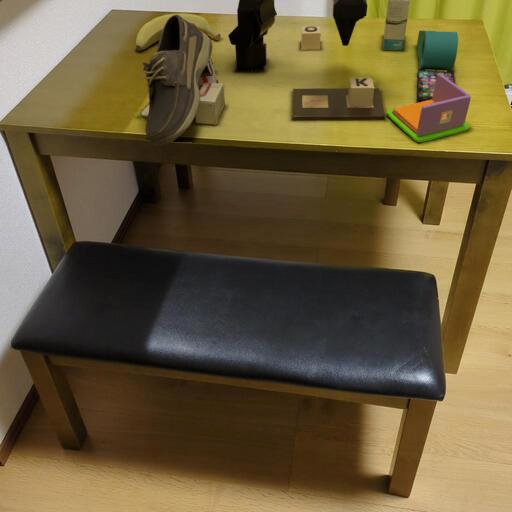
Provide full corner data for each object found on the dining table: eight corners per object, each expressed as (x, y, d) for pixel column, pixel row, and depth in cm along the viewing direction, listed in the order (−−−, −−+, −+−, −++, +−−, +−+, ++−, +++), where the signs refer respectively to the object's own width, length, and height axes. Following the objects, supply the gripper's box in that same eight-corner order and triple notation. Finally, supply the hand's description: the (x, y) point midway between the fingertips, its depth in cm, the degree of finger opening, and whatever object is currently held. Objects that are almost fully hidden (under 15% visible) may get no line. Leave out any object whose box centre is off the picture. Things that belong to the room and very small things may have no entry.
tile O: (301, 49, 140) (301, 32, 137) (301, 42, 143) (301, 25, 140) (320, 49, 140) (320, 32, 137) (319, 42, 143) (320, 25, 140)
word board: (292, 120, 115) (292, 116, 115) (293, 91, 124) (293, 88, 123) (384, 119, 114) (385, 115, 113) (378, 91, 123) (378, 87, 122)
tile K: (349, 106, 117) (351, 87, 114) (348, 95, 120) (349, 76, 117) (372, 106, 116) (374, 87, 114) (370, 95, 120) (372, 76, 117)
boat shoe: (151, 162, 110) (108, 128, 103) (179, 57, 125) (143, 20, 118) (193, 143, 104) (150, 105, 97) (217, 34, 119) (182, -5, 112)
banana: (144, 3, 146) (223, 13, 146) (146, 22, 151) (223, 32, 151) (132, 38, 139) (215, 48, 139) (135, 57, 144) (215, 67, 143)
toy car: (211, 63, 136) (208, 31, 131) (221, 99, 123) (218, 64, 118) (178, 66, 135) (174, 34, 130) (184, 102, 122) (180, 68, 117)
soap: (157, 119, 117) (156, 115, 116) (137, 117, 118) (136, 113, 117) (176, 97, 124) (176, 93, 123) (157, 95, 125) (156, 91, 124)
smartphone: (416, 99, 117) (417, 67, 128) (415, 103, 118) (417, 71, 129) (456, 102, 116) (454, 69, 127) (455, 106, 117) (453, 73, 127)
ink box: (403, 51, 137) (410, -1, 129) (382, 50, 138) (388, -2, 130) (403, 36, 144) (410, -14, 136) (383, 36, 144) (389, -14, 136)
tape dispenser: (421, 74, 128) (426, 39, 123) (416, 46, 139) (421, 13, 134) (452, 75, 127) (459, 40, 122) (445, 47, 138) (451, 14, 133)
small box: (203, 81, 118) (193, 100, 112) (223, 83, 117) (214, 101, 111) (205, 104, 121) (195, 123, 115) (225, 106, 120) (216, 125, 115)
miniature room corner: (471, 129, 110) (480, 97, 105) (417, 144, 107) (424, 110, 102) (435, 101, 118) (441, 69, 113) (383, 113, 115) (388, 81, 110)
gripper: (400, -31, 101) (388, 56, 111) (390, -62, 114) (380, 19, 125) (336, -32, 101) (330, 55, 112) (333, -62, 115) (328, 18, 126)
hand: (344, 36), depth 119 cm, fingers open, 9 cm apart
